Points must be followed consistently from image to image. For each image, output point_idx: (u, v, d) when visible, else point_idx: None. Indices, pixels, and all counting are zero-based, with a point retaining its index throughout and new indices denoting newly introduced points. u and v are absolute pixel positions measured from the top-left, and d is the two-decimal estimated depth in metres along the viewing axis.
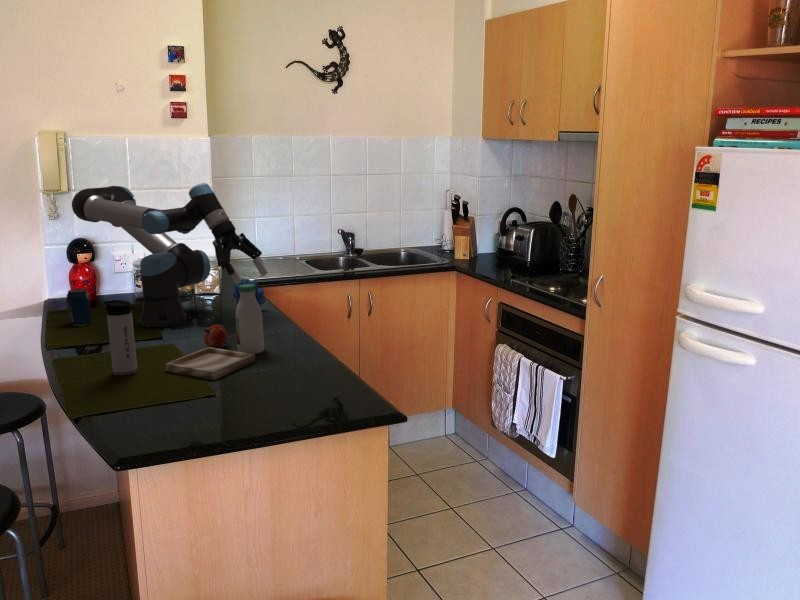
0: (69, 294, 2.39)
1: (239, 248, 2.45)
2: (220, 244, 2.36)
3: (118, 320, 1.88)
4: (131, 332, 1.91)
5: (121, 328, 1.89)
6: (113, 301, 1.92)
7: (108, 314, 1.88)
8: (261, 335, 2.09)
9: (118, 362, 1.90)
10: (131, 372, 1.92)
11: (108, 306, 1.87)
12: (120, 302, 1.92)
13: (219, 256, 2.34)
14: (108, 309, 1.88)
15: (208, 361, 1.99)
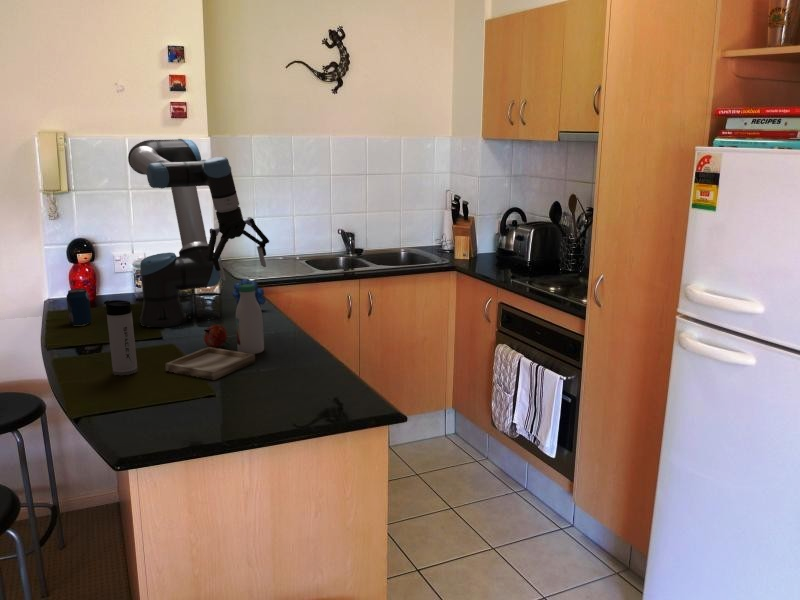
0: (69, 294, 2.39)
1: None
2: (214, 238, 2.18)
3: (118, 320, 1.88)
4: (131, 332, 1.91)
5: (121, 328, 1.89)
6: (113, 301, 1.92)
7: (108, 314, 1.88)
8: (261, 335, 2.09)
9: (118, 362, 1.90)
10: (131, 372, 1.92)
11: (108, 306, 1.87)
12: (120, 302, 1.92)
13: (208, 251, 2.19)
14: (108, 309, 1.88)
15: (208, 361, 1.99)
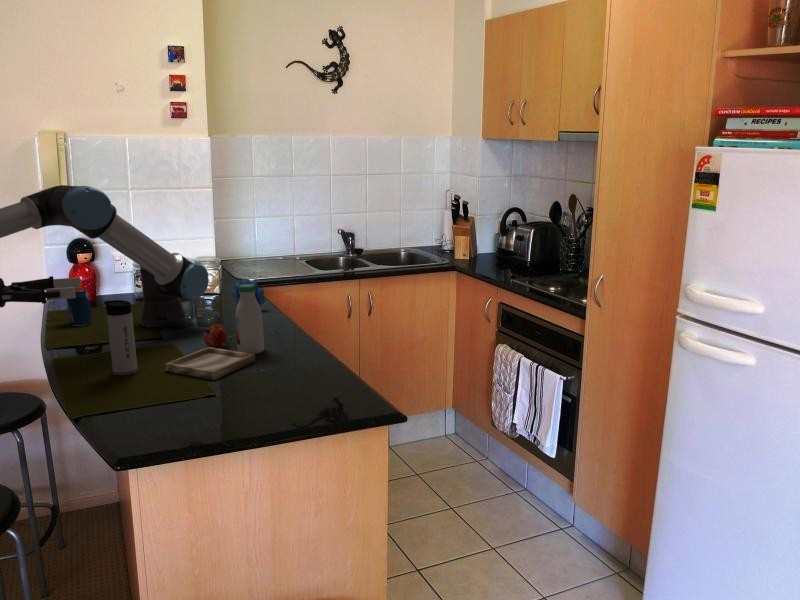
0: None
1: None
2: None
3: (118, 320, 1.88)
4: (131, 332, 1.91)
5: (121, 328, 1.89)
6: (113, 301, 1.92)
7: (108, 313, 1.88)
8: (261, 335, 2.09)
9: (118, 362, 1.90)
10: (131, 372, 1.92)
11: (108, 306, 1.87)
12: (120, 302, 1.92)
13: None
14: (108, 309, 1.88)
15: (208, 361, 1.99)
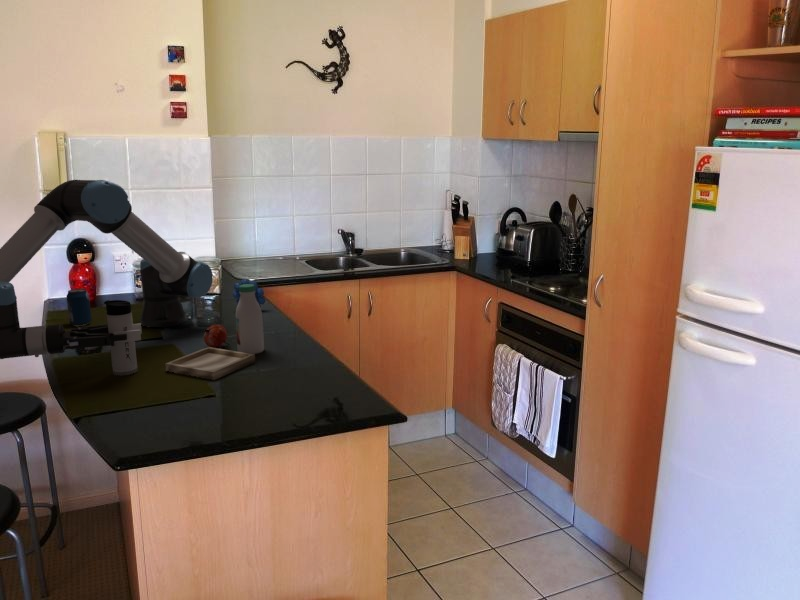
0: (69, 294, 2.39)
1: None
2: None
3: (118, 320, 1.88)
4: None
5: (121, 328, 1.89)
6: (113, 301, 1.92)
7: (108, 313, 1.88)
8: (261, 335, 2.09)
9: (118, 362, 1.90)
10: (131, 372, 1.92)
11: (108, 306, 1.87)
12: (120, 302, 1.92)
13: None
14: (108, 309, 1.88)
15: (208, 361, 1.99)
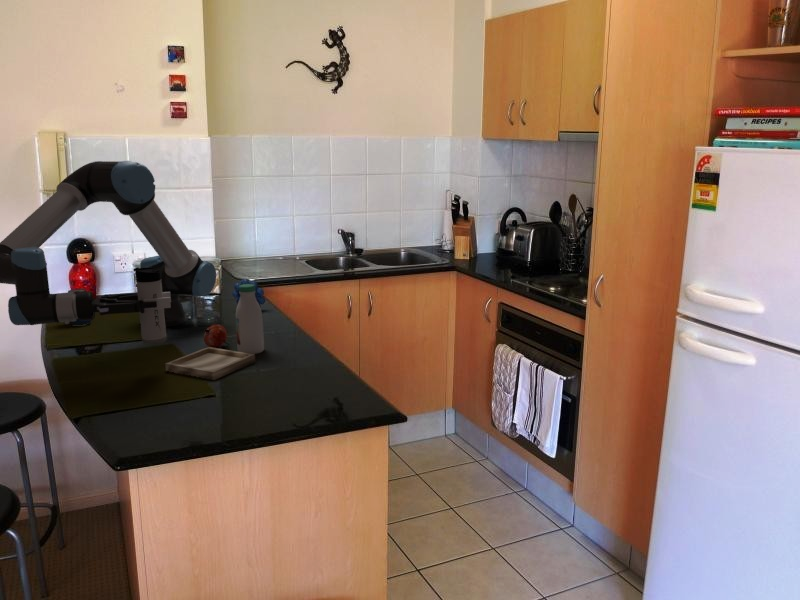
0: None
1: None
2: None
3: (147, 287, 1.86)
4: None
5: (150, 295, 1.87)
6: (142, 268, 1.90)
7: (137, 280, 1.86)
8: (261, 335, 2.09)
9: (147, 330, 1.89)
10: (160, 340, 1.90)
11: (138, 273, 1.86)
12: (149, 269, 1.90)
13: None
14: (138, 276, 1.86)
15: (208, 361, 1.99)
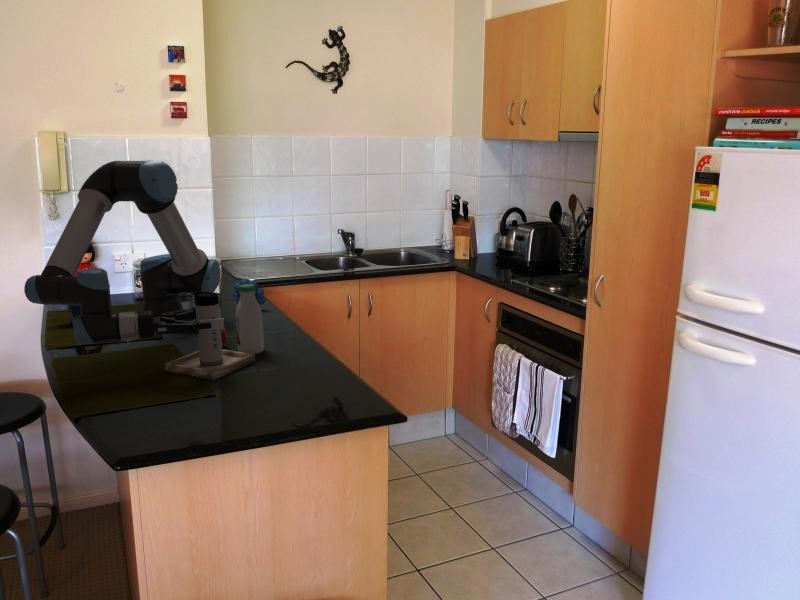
0: None
1: None
2: None
3: (207, 310, 1.92)
4: None
5: None
6: (201, 292, 1.96)
7: (197, 304, 1.92)
8: (261, 335, 2.09)
9: (205, 352, 1.94)
10: (218, 362, 1.96)
11: (198, 297, 1.92)
12: (207, 293, 1.96)
13: None
14: (197, 300, 1.92)
15: None
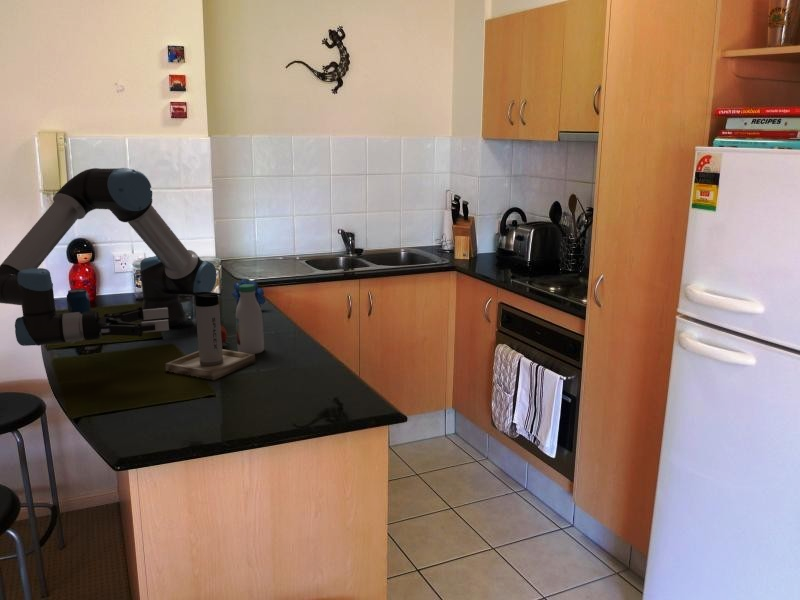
0: (69, 294, 2.39)
1: None
2: None
3: (207, 311, 1.92)
4: (218, 323, 1.95)
5: (209, 319, 1.92)
6: (201, 293, 1.96)
7: (197, 305, 1.92)
8: (261, 335, 2.09)
9: (206, 353, 1.94)
10: (218, 362, 1.96)
11: (198, 297, 1.91)
12: (207, 294, 1.96)
13: None
14: (197, 300, 1.92)
15: None
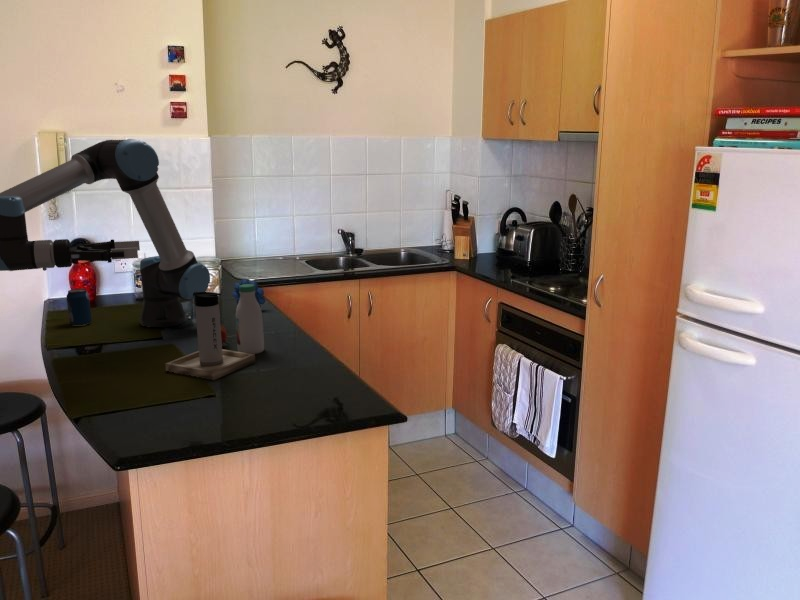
0: (69, 294, 2.39)
1: None
2: None
3: (206, 311, 1.92)
4: (218, 323, 1.95)
5: (209, 319, 1.92)
6: (200, 293, 1.96)
7: (197, 305, 1.92)
8: (261, 335, 2.09)
9: (205, 353, 1.94)
10: (218, 362, 1.96)
11: (197, 297, 1.91)
12: (207, 294, 1.96)
13: None
14: (197, 300, 1.92)
15: None
